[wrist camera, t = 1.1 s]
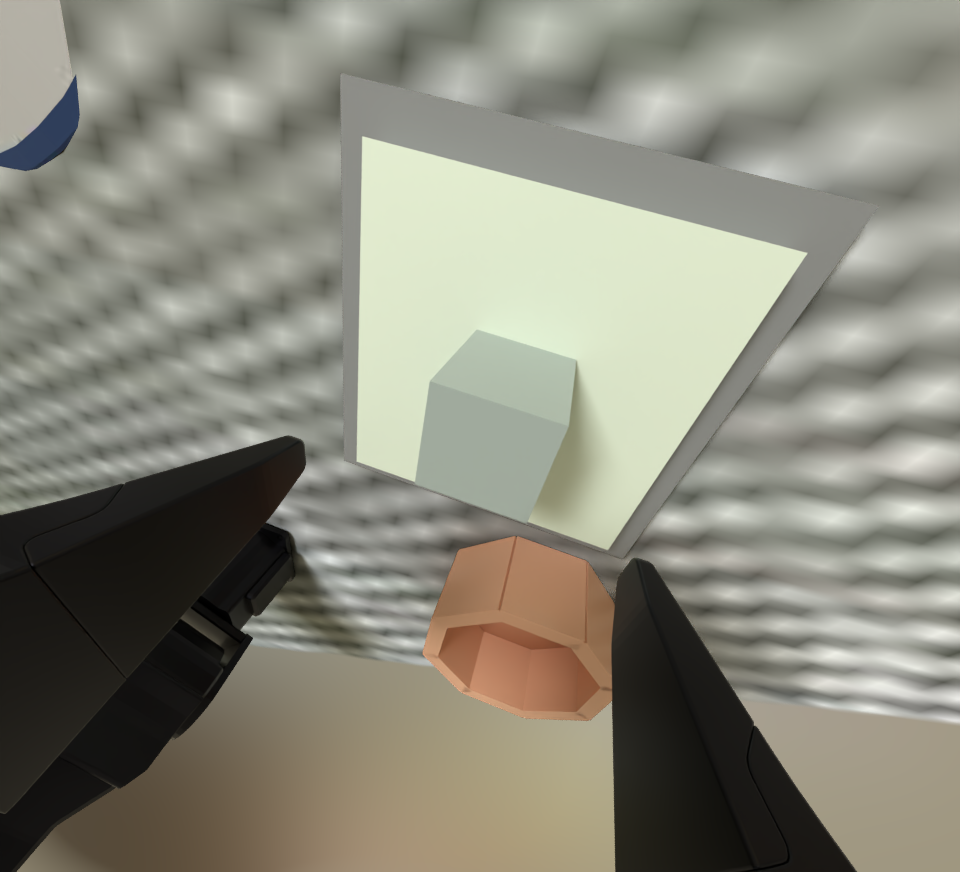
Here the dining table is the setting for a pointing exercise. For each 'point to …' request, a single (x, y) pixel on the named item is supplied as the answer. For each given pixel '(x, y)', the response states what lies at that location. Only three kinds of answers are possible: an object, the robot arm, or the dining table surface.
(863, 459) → the dining table surface
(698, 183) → the grey square panel
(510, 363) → the cover
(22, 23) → the sun hat
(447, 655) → the bowl
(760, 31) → the dining table surface
